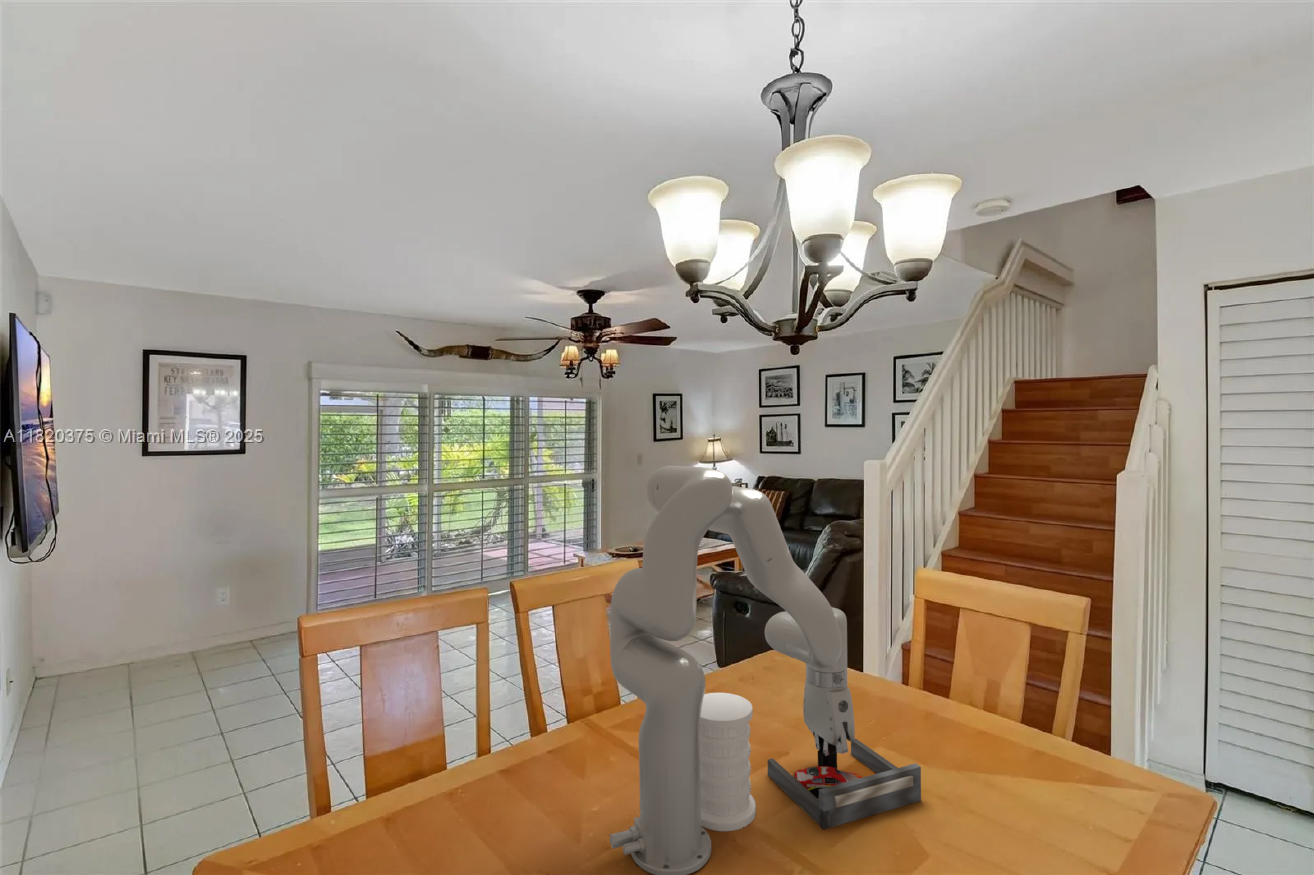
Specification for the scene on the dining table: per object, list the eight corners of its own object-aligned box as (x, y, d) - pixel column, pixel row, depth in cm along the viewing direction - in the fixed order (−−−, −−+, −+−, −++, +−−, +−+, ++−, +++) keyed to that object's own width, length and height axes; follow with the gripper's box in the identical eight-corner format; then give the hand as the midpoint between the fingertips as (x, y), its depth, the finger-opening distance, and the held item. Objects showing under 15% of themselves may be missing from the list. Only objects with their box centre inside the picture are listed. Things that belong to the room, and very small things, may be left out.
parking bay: (825, 831, 101) (825, 795, 101) (767, 775, 118) (767, 743, 117) (923, 802, 108) (922, 768, 108) (855, 753, 125) (855, 723, 125)
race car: (863, 784, 115) (863, 763, 115) (871, 802, 109) (871, 779, 109) (790, 782, 116) (790, 761, 115) (795, 800, 110) (795, 777, 110)
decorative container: (677, 798, 111) (676, 698, 110) (735, 784, 115) (734, 687, 114) (705, 838, 100) (704, 727, 99) (768, 821, 104) (767, 714, 104)
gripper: (869, 687, 111) (870, 789, 111) (818, 658, 125) (819, 749, 125) (835, 694, 108) (836, 798, 109) (786, 664, 122) (788, 757, 123)
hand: (827, 772), depth 117 cm, fingers closed
